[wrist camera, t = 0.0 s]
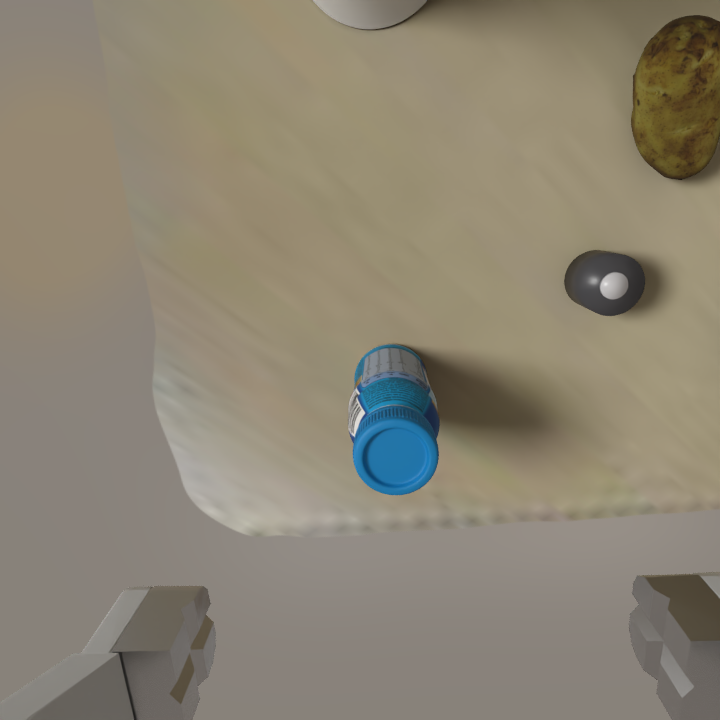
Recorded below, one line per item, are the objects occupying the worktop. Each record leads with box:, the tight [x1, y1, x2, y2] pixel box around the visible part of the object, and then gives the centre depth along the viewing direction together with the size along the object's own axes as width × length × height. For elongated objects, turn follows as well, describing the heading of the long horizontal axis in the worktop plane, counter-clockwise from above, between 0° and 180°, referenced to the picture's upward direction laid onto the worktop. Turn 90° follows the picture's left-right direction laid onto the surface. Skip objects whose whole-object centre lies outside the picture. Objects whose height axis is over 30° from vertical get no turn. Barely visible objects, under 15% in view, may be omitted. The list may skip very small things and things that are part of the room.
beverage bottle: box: [348, 344, 439, 495], centre depth 50 cm, size 8×8×20 cm
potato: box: [631, 15, 720, 180], centre depth 47 cm, size 8×13×8 cm, turn 0°
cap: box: [564, 250, 645, 316], centre depth 53 cm, size 6×6×5 cm
